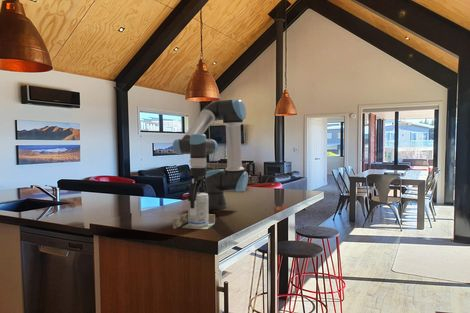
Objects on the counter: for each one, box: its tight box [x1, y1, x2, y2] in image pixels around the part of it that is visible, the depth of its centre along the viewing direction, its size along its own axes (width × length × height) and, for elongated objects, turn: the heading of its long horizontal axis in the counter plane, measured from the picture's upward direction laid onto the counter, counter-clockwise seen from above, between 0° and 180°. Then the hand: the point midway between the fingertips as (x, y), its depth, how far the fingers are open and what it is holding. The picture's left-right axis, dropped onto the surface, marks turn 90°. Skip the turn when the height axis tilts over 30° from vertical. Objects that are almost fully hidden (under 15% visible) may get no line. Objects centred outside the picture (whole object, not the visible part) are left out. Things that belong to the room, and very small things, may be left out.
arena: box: [172, 212, 216, 230], centre depth 156 cm, size 16×16×4 cm
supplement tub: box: [187, 192, 210, 227], centre depth 155 cm, size 10×10×15 cm
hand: (198, 212), depth 155 cm, fingers open, 13 cm apart
